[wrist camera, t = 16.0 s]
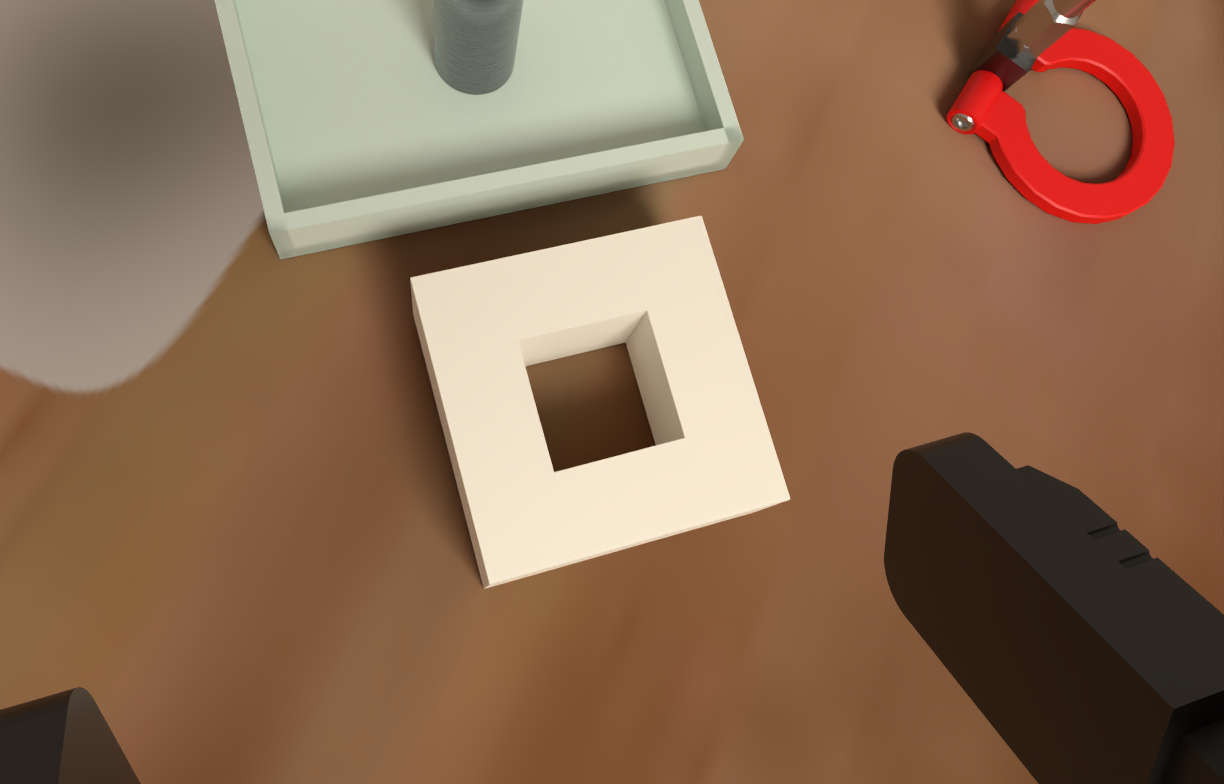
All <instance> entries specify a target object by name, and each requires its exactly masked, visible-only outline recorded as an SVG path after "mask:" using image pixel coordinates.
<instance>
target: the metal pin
mask: <svg viewBox="0 0 1224 784" xmlns="http://www.w3.org/2000/svg"><path fill="white" fill-rule="evenodd" d="M522 7H523V0H433V59H434V65H435V68H436V70H437V72H438V74H439V75H440V77H441V78H442V79H443V81H444V82H445V83H446V84H448V85H449V86H450V87H452V88H453V89H455V90H457V91H459V92H462V93H466V94H471V95H482V94H488V93H491V92H493V91H495V90H497V89H499V88H500V87H502V86H503V85H504V84H505V83H506V82H507V81H508V79H509V78H510V76H511V74H512V72H513V68H514V63H515V56H516V49H517V42H518V35H519V28H520V21H521V14H522Z"/></svg>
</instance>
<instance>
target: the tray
mask: <svg viewBox="0 0 1224 784" xmlns="http://www.w3.org/2000/svg"><path fill="white" fill-rule="evenodd" d="M215 5H216V9H217V13H218V18H219V22H220V26H221V30H222V35H223V39H224V43H225V47H226V52H227V56H228V60H229V65H230V69H231V73H232V77H233V81H234V86H235V90H236V94H237V98H238V103H239V107H240V111H241V115H242V120H243V124H244V128H245V132H246V137H247V141H248V145H249V149H250V154H251V158H252V162H253V166H254V171H255V175H256V179H257V183H258V188H259V192H260V196H261V200H262V205H263V209H264V213H265V217H266V221H267V226H268V230H269V234H270V236H271V239H272V241H273V243H274V246H275V248H276V250H277V253H278V255H279V257H280V260H281V259H286V258H291V257H295V256H300V255H305V254H310V253H315V252H320V251H325V250H330V249H335V248H340V247H345V246H349V245H354V244H359V243H364V242H369V241H374V240H379V239H384V238H389V237H394V236H398V235H403V234H408V233H413V232H418V231H423V230H428V229H433V228H438V227H443V226H448V225H452V224H457V223H462V222H467V221H472V220H477V219H482V218H487V217H492V216H497V215H502V214H506V213H511V212H516V211H521V210H526V209H531V208H536V207H541V206H546V205H551V204H556V203H560V202H565V201H570V200H575V199H580V198H585V197H590V196H595V195H600V194H605V193H610V192H614V191H619V190H624V189H629V188H634V187H639V186H644V185H649V184H654V183H659V182H664V181H668V180H673V179H678V178H683V177H688V176H693V175H698V174H703V173H708V172H713V171H718V170H722V169H726V167H727V166H728V164H729V162H730V161H731V159H732V158H733V156H734V155H735V153H736V151H737V150H738V148H739V147H740V145H741V143H742V142H743V140H744V138H743V135H742V132H741V129H740V126H739V123H738V120H737V117H736V114H735V111H734V108H733V105H732V101H731V98H730V95H729V92H728V89H727V86H726V83H725V80H724V77H723V74H722V71H721V68H720V65H719V62H718V58H717V55H716V52H715V49H714V46H713V43H712V40H711V37H710V34H709V31H708V28H707V25H706V22H705V19H704V15H703V12H702V9H701V6H700V3H699V0H523V7H522V14H521V21H520V28H519V35H518V42H517V49H516V56H515V63H514V68H513V72H512V74H511V76H510V78H509V79H508V81H507V82H506V83H505V84H504V85H503V86H502V87H500V88H499V89H497V90H495V91H493V92H491V93H488V94H482V95H471V94H466V93H462V92H459V91H457V90H455V89H453V88H452V87H450V86H449V85H448V84H446V83H445V82H444V81H443V79H442V78H441V77H440V75H439V74H438V72H437V70H436V68H435V65H434V59H433V0H215Z"/></svg>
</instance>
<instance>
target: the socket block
mask: <svg viewBox="0 0 1224 784" xmlns="http://www.w3.org/2000/svg"><path fill="white" fill-rule="evenodd" d="M410 280H411V294H412V307H413V316H414V320H415V324H416V328H417V332H418V335H419V339H420V343H421V347H422V351H423V355H424V359H425V363H426V367H427V370H428V374H429V378H430V382H431V386H432V390H433V394H434V398H435V401H436V405H437V409H438V413H439V417H440V421H441V425H442V429H443V433H444V436H445V440H446V444H447V448H448V452H449V456H450V460H451V464H452V467H453V471H454V475H455V479H456V483H457V487H458V491H459V495H460V499H461V502H462V506H463V510H464V514H465V518H466V522H467V526H468V530H469V533H470V537H471V541H472V545H473V549H474V553H475V557H476V561H477V565H478V568H479V572H480V576H481V580H482V584H483V588H484V589H485V588H489V587H492V586H496V585H499V584H503V583H506V582H510V581H514V580H517V579H521V578H524V577H528V576H531V575H535V574H538V573H542V572H545V571H549V570H552V569H556V568H559V567H563V566H566V565H570V564H573V563H577V562H580V561H584V560H588V559H591V558H595V557H598V556H602V555H605V554H609V553H612V552H616V551H619V550H623V549H626V548H630V547H633V546H637V545H640V544H644V543H647V542H651V541H655V540H658V539H662V538H665V537H669V536H672V535H676V534H679V533H683V532H686V531H690V530H693V529H697V528H700V527H704V526H707V525H711V524H714V523H718V522H721V521H725V520H729V519H732V518H736V517H739V516H743V515H746V514H750V513H753V512H756V511H759V510H762V509H765V508H767V507H770V506H773V505H776V504H779V503H781V502H784V501H787V500H790V496H789V493H788V490H787V487H786V483H785V480H784V477H783V474H782V471H781V467H780V464H779V461H778V458H777V455H776V452H775V448H774V445H773V442H772V439H771V436H770V432H769V429H768V426H767V423H766V420H765V416H764V413H763V410H762V407H761V404H760V401H759V397H758V394H757V391H756V388H755V385H754V381H753V378H752V375H751V372H750V369H749V365H748V362H747V359H746V356H745V353H744V349H743V346H742V343H741V340H740V337H739V334H738V330H737V327H736V324H735V321H734V318H733V314H732V311H731V308H730V305H729V302H728V298H727V295H726V292H725V289H724V286H723V283H722V279H721V276H720V273H719V270H718V267H717V263H716V260H715V257H714V254H713V251H712V247H711V244H710V241H709V238H708V235H707V231H706V228H705V225H704V222H703V219H702V216H697V217H692V218H688V219H683V220H678V221H674V222H669V223H664V224H660V225H655V226H650V227H646V228H641V229H636V230H632V231H627V232H622V233H617V234H613V235H608V236H603V237H599V238H594V239H589V240H585V241H580V242H575V243H571V244H566V245H561V246H556V247H552V248H547V249H542V250H538V251H533V252H528V253H524V254H519V255H514V256H510V257H505V258H500V259H495V260H491V261H486V262H481V263H477V264H472V265H467V266H463V267H458V268H453V269H449V270H444V271H439V272H435V273H430V274H425V275H420V276H416V277H411V278H410ZM622 343H626V346H627V349H628V353H629V356H630V360H631V363H632V366H633V370H634V373H635V377H636V380H637V383H638V387H639V390H640V394H641V397H642V400H643V404H644V407H645V411H646V414H647V418H648V421H649V424H650V428H651V431H652V435H653V438H654V441H655V445H656V446H652V447H649V448H645V449H641V450H637V451H633V452H629V453H626V454H622V455H618V456H614V457H610V458H607V459H603V460H599V461H595V462H591V463H588V464H584V465H580V466H576V467H572V468H569V469H565V470H561V471H557V472H554V470H553V466H552V463H551V459H550V456H549V452H548V448H547V445H546V441H545V437H544V434H543V430H542V426H541V423H540V419H539V415H538V412H537V408H536V405H535V401H534V397H533V394H532V390H531V386H530V383H529V379H528V375H527V372H526V368H525V366H529V365H533V364H537V363H542V362H546V361H550V360H554V359H558V358H563V357H567V356H571V355H575V354H579V353H584V352H588V351H592V350H596V349H600V348H605V347H609V346H613V345H617V344H622Z"/></svg>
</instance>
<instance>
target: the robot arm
mask: <svg viewBox="0 0 1224 784" xmlns="http://www.w3.org/2000/svg"><path fill="white" fill-rule="evenodd" d="M884 565H885V572H886V576H887V580H888V584H889V587H890V590H891V592H892V594H893V597H894V599H895V601H896V603H897V605H898V606H899V608H900V610H901V611H902V612H903V614H904V615H905V617H906V618H907V619H908V620H909V622H910V623H911V624H912V625H913V627H914V628H915V629H916V630H917V632H918V633H919V634H920V635H921V637H922V638H923V639H924V640H925V642H926V643H927V644H928V645H929V647H930V648H931V649H932V650H933V652H934V653H935V654H936V655H937V657H938V658H939V659H940V661H941V662H942V663H943V664H944V666H945V667H946V668H947V669H948V671H949V672H950V673H951V674H952V676H953V677H954V678H955V679H956V681H957V682H958V683H959V684H960V686H961V687H962V688H963V689H964V691H965V692H966V693H967V694H968V696H969V697H970V698H971V699H972V701H973V702H974V703H975V704H976V706H977V707H978V708H979V709H980V711H981V712H982V713H983V714H984V716H985V717H986V718H987V719H988V721H989V722H990V723H991V724H992V726H993V727H994V728H995V730H996V731H997V732H998V733H999V735H1000V736H1001V737H1002V738H1003V740H1004V741H1005V742H1006V743H1007V745H1008V746H1009V747H1010V748H1011V750H1012V751H1013V752H1014V753H1015V755H1016V756H1017V757H1018V758H1019V760H1020V761H1021V762H1022V763H1023V765H1024V766H1025V767H1026V768H1027V770H1028V771H1029V772H1030V773H1031V775H1032V776H1033V777H1034V778H1035V780H1036V781H1037V782H1038V783H1039V784H1224V615H1223V614H1222V613H1221V612H1220V611H1219V610H1217V609H1216V608H1215V607H1214V606H1213V605H1212V604H1211V603H1209V602H1208V601H1207V600H1206V599H1205V598H1204V597H1202V596H1201V595H1200V594H1199V593H1198V592H1197V591H1195V590H1194V589H1193V588H1192V587H1191V586H1190V585H1189V584H1187V583H1186V582H1185V581H1184V580H1183V579H1182V578H1180V577H1179V576H1178V575H1177V574H1176V573H1175V572H1174V571H1172V570H1171V569H1170V568H1169V567H1168V566H1167V565H1165V564H1164V563H1163V562H1162V561H1161V560H1160V559H1159V558H1155V559H1153V558H1152V557H1151V556H1150V554H1149V550H1148V549H1147V548H1146V547H1145V546H1144V545H1142V544H1141V543H1140V542H1139V541H1138V540H1137V539H1135V538H1134V537H1133V536H1132V535H1131V534H1130V533H1129V532H1127V531H1126V530H1122V531H1121V530H1119V528H1118V526H1117V522H1116V521H1115V520H1113V519H1112V518H1111V517H1110V516H1109V515H1108V514H1107V513H1105V512H1104V511H1103V510H1102V509H1101V508H1100V507H1098V506H1097V505H1096V504H1095V503H1094V502H1093V501H1092V500H1090V499H1089V498H1088V497H1087V496H1086V495H1085V494H1083V493H1082V492H1081V491H1080V490H1079V489H1077V488H1075V487H1073V486H1071V485H1069V484H1066V483H1064V482H1062V481H1060V480H1058V479H1056V478H1054V477H1052V476H1050V475H1048V474H1045V473H1043V472H1041V471H1039V470H1037V469H1035V468H1033V467H1031V466H1029V465H1028V466H1024V467H1021V468H1018V469H1015V468H1014V467H1013V466H1012V465H1011V464H1010V463H1009V462H1007V461H1006V460H1005V459H1004V458H1003V457H1002V456H1001V455H1000V454H999V453H998V452H996V451H995V450H994V449H993V448H992V447H991V446H990V445H989V444H988V443H987V442H985V441H984V440H983V439H982V438H980V437H979V436H977V435H975V434H972V433H961V434H958V435H954V436H951V437H948V438H944V439H941V440H937V441H934V442H930V443H927V444H923V445H920V446H917V447H913V448H910V449H906V450H903V451H901V452H900V453H899V454H898V455H897V457H896V459H895V462H894V466H893V474H892V483H891V493H890V503H889V513H888V522H887V532H886V542H885V552H884ZM0 784H140V782H139V780H138V778H137V776H136V775H135V773H134V771H133V769H132V767H131V766H130V764H129V762H128V760H127V758H126V757H125V755H124V753H123V751H122V749H121V748H120V746H119V744H118V742H117V740H116V739H115V737H114V735H113V733H112V731H111V730H110V728H109V726H108V724H107V722H106V720H105V719H104V717H103V715H102V713H101V711H100V710H99V708H98V706H97V704H96V702H95V701H94V699H93V698H92V696H91V695H90V694H89V692H88V691H87V690H85V689H84V688H81V687H78V688H74V689H71V690H67V691H64V692H61V693H57V694H54V695H50V696H47V697H43V698H40V699H36V700H33V701H30V702H26V703H23V704H19V705H16V706H12V707H9V708H5V709H2V710H0Z"/></svg>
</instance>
